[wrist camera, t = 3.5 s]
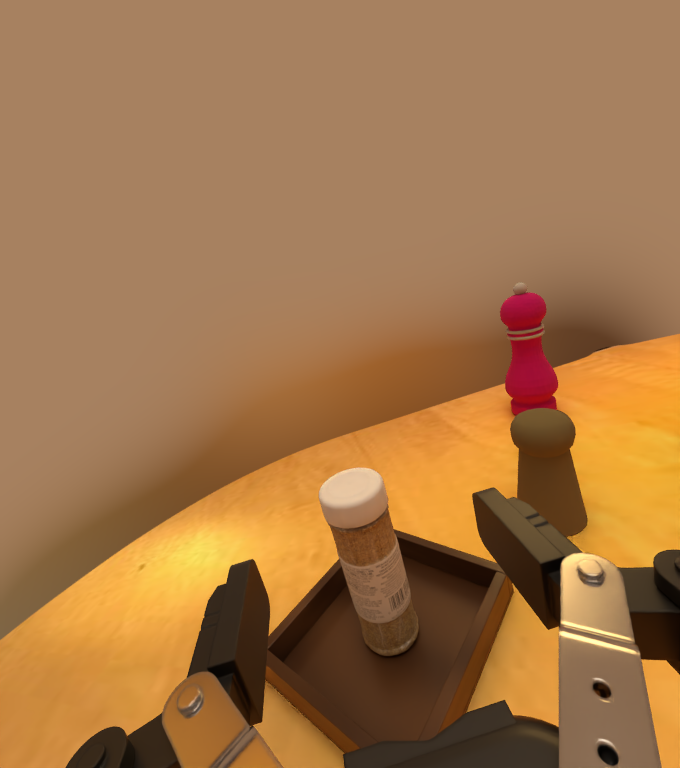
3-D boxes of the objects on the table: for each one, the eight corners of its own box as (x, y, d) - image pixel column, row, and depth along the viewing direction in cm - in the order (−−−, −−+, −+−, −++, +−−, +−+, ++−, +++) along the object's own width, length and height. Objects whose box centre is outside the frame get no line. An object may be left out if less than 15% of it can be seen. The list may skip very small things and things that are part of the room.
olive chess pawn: (514, 532, 35) (500, 429, 32) (518, 494, 40) (506, 402, 37) (590, 541, 32) (582, 428, 29) (584, 499, 37) (577, 399, 34)
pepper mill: (557, 421, 52) (544, 281, 47) (504, 419, 57) (486, 291, 51) (563, 401, 57) (551, 273, 52) (513, 401, 62) (498, 283, 57)
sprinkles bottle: (393, 594, 31) (357, 458, 28) (433, 630, 27) (396, 478, 24) (351, 630, 29) (305, 487, 25) (387, 674, 25) (340, 514, 22)
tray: (377, 541, 38) (372, 521, 38) (513, 591, 29) (510, 567, 28) (263, 676, 28) (252, 653, 27) (421, 824, 18) (411, 793, 18)
